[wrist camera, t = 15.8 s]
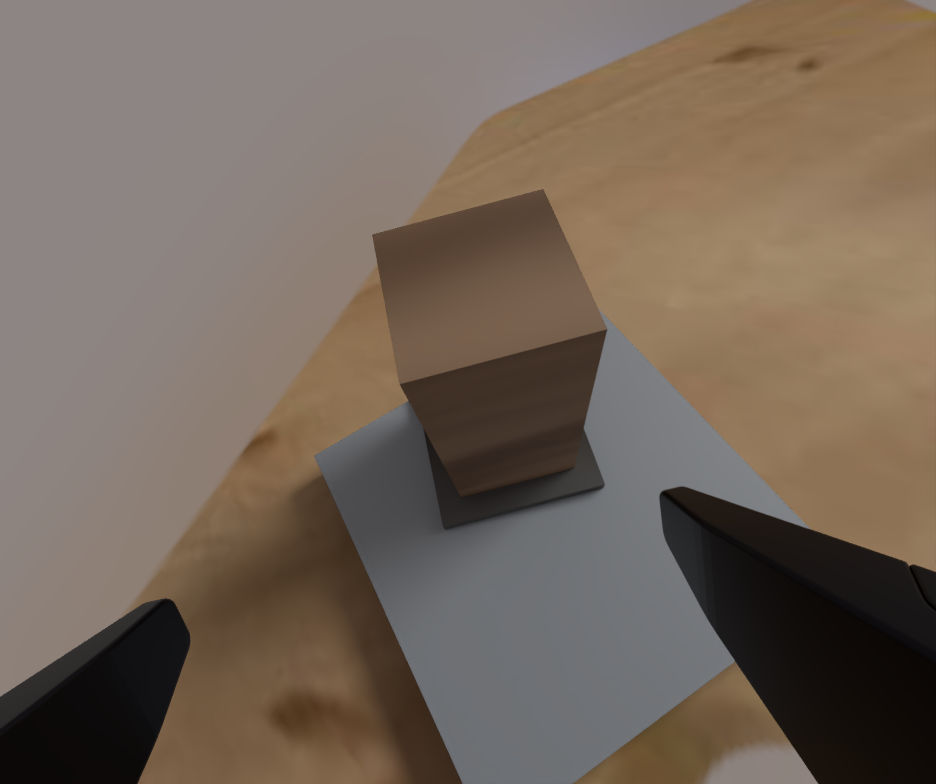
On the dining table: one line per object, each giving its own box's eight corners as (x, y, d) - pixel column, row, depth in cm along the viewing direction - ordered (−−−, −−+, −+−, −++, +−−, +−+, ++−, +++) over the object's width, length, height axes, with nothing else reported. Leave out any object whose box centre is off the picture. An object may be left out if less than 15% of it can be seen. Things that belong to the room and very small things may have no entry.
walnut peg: (597, 499, 22) (667, 352, 10) (452, 538, 22) (363, 433, 11) (551, 374, 25) (566, 158, 14) (425, 407, 25) (334, 219, 14)
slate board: (823, 578, 19) (852, 572, 18) (495, 823, 17) (490, 845, 15) (583, 319, 27) (587, 297, 25) (330, 468, 24) (314, 455, 23)
